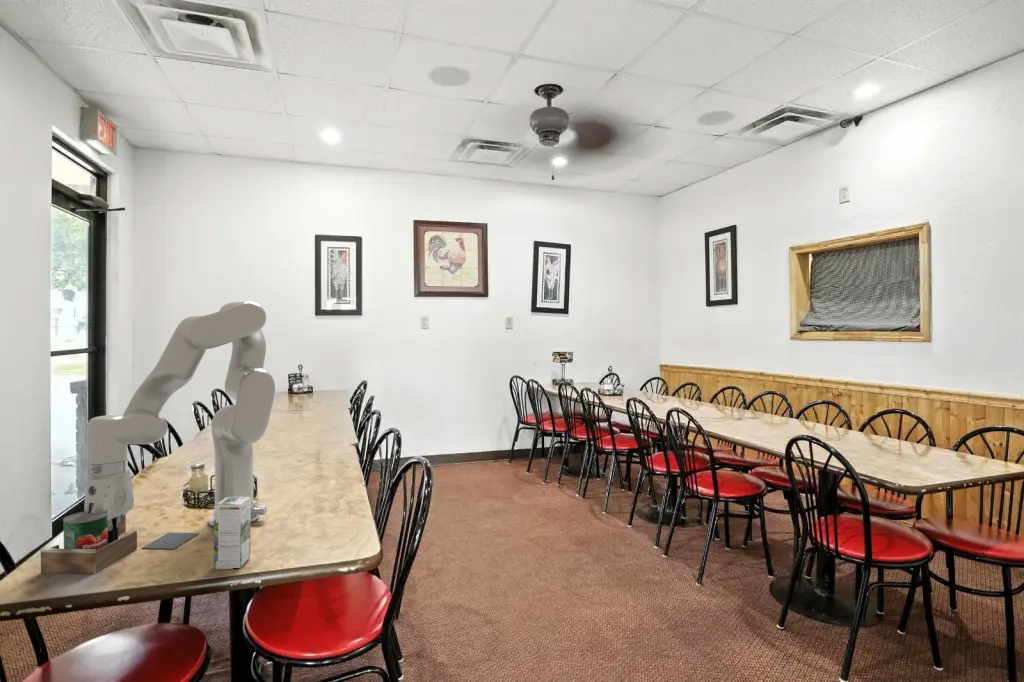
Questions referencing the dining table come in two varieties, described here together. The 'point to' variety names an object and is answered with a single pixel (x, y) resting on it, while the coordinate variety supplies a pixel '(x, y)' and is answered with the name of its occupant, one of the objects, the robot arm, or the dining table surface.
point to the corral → (88, 555)
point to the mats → (170, 541)
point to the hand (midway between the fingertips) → (109, 545)
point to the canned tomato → (85, 531)
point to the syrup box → (232, 532)
